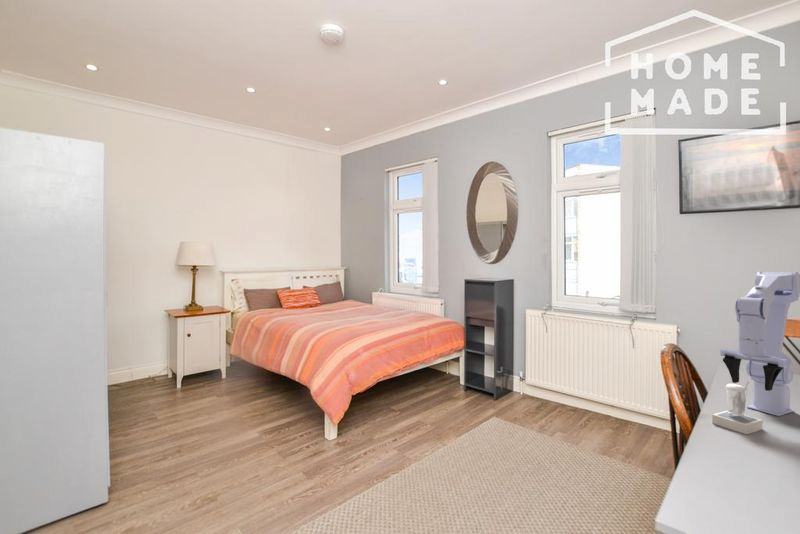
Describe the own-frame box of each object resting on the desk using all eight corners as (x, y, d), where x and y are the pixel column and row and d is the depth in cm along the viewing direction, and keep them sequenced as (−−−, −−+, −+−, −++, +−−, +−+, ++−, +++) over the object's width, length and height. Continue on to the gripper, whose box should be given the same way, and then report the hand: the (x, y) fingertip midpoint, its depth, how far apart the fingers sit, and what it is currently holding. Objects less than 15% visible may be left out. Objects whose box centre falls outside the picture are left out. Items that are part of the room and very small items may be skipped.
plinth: (728, 418, 113) (728, 409, 113) (762, 429, 106) (762, 419, 106) (712, 423, 110) (712, 414, 110) (746, 434, 103) (746, 424, 103)
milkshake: (754, 420, 106) (754, 384, 105) (732, 419, 106) (732, 383, 106) (742, 414, 110) (743, 379, 110) (721, 413, 111) (721, 378, 111)
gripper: (714, 335, 116) (714, 380, 116) (777, 345, 103) (777, 395, 103) (727, 333, 119) (727, 377, 119) (790, 342, 106) (790, 392, 106)
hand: (751, 386), depth 111 cm, fingers open, 7 cm apart
